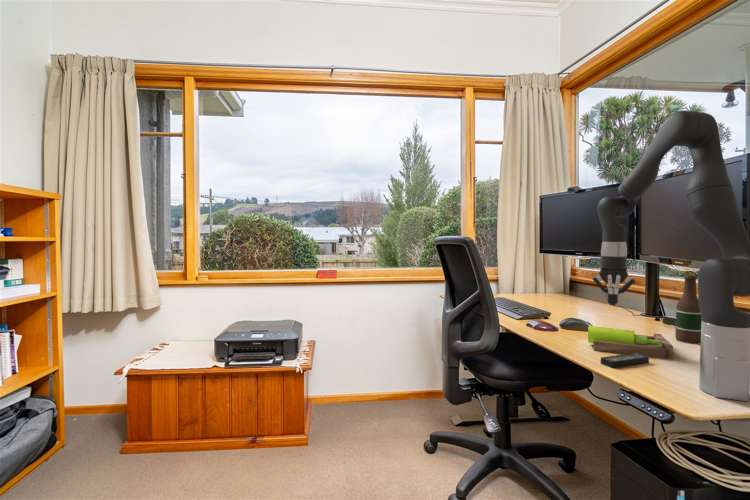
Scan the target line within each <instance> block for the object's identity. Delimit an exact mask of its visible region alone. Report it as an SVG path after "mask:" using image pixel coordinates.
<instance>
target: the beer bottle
mask: <svg viewBox="0 0 750 500" xmlns="http://www.w3.org/2000/svg"><path fill="white" fill-rule="evenodd" d="M683 278H684V285H683V292H682V293H683V294H682V296H681V297H680V298H679V299H678V301H677V304H676V306H675V307H676V308H675V339H676V341H679V342H681V343H686V344H694V345H695V344H701V323H702V315H701V312H700V309H699V302H698V295H697V294H698V293H697V280H698V276H697V275H695V274H686V275H684V276H683Z"/></svg>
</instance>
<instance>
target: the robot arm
mask: <svg viewBox="0 0 750 500" xmlns="http://www.w3.org/2000/svg"><path fill="white" fill-rule="evenodd" d="M659 127H660V128H659V129H658V131H657V132H656V134H655V135H654V137H653V139H652V141H651V142H650V144H649V145H648V147H647V148H646V150H645V152H644V153H643V155H642V156H641V158H640V160H639V161H638V163H637V164H636V165H635V167H634V168H633V169H632V171H630V173H629V174H628V175H627V176H626V177H625V178H624V180H623V181H622V182H621V183H620V185H619V186H618V188H617V192H618V193H619V195H620V196H605V197H602V198H601V199H600V200H599V202H598V204H597V210H596V211H597V216H598V218H599V223H600V226H601V230H602V236H601V237H602V239H601V240H602V243H601V247H600V248H601V249H600V270H599V272H598V274H597V275H595V276H592V280H593V282H594V283H595V284H596V285H597V286H598V287H599V289H600V290H601V292H604V294H607V300H606V301H607V303H608V304H609V305H610V306H616V304H618V302H619V301H618V299H619V295H620V294H624V293H625V292H626V291H627V290H628V289H629V288H630V287H631V286H632V285H633V284H634V283H635V282H636V279H634V278H632V277H631V276H629V272H628V271H627V266H628V263H627V262H628V261H627V259H628V246H627V233H628V232H627V231H628V230H627V226H626V225H625V224H620V223H618V221H617V218H625V217H628V216H630V214H632V213H633V212H634V210H635V208H636V206H637V205H638V203H639V200H640V198H641V196H643V195H644V193H646V192H647V190H648V189H649V188H650V187H651V186H652V185H653V184H654V182H655V181H656V180H657V177H658V175H659V172H660V171H659V170H660V165H661V164H662V163H661V162H662V160H663V159H664V157H665V156H666V155H667V154H668V153H669V152H670V151H671V150H672V149H673V148H674V147H676V146H677V147H686V148H687V149H688V150H689V153H690V156H691V159H692V163H693V165H692V172H691V173H690V175H689V177H688V180H687V183H686V186H685V196H686V201H687V205H688V209H689V211H690V214H691V216H692V218H693V219H694V220H695V222H697V223H698V225H699V226H700V227H701V228H702V229H704V230H705V231H706V232H707V234H709V235H710V236H711V237H712V239H714V240H715V242H716V244H717V245H718V246H719V249H720V252H721V254H722V257H721V258H719V257H718V258H716V257H715V258H709V259H707V260H705V261H703V263H702V264H701V265H700V267H699V269H698V274H697V294H698V295H697V299H698V302H699V309H700V312H701V315H702V323H701V343H700V354H699V377H698V378H699V381H698V384H699V385H698V388H699V390H701V391H702V392H704V393H706V394H708V395H712V396H713V397H715V398H721V399H729V400H734V401H742V402H749V399H750V313H749V312H746V311H744V310H740V309H739V308H737V307H736V306H735V302H734V297H750V238H749V234H748V233H747V231H746V230H747V229H746V227H745V225H744V221H743V219H742V215H741V212H740V209H739V205H738V201H737V198H736V195H735V192H734V188H733V185H732V183H731V180H730V178H729V173H728V171H727V167H726V164H725V163H726V162H725V159H724V155H723V152H722V145H721V144H722V143H721V139H720V138H721V137H720V132H719V128H718V127H719V126H718V122H717V120H716V118H715V117H714V115H712V114H710V113H707V112H702V111H692V110H677V111H675V112H673V113H672V114H670V115H669V116H668V117H667V118H666V120H664V121H663V123H662V125H661V126H659ZM602 280H603V282H604V283H606V286H607V287H605V286H604V285H603V284H602V283H601V281H602ZM624 281H625V283H624V284H623V285H622V286H621V287H620V285H621V284H622V283H623V282H624Z"/></svg>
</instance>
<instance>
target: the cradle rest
mask: <svg viewBox="0 0 750 500" xmlns="http://www.w3.org/2000/svg"><path fill="white" fill-rule="evenodd" d="M639 335H640V336H647V338H648V339H651V340H660V347H657V345H649V344H648V345H637V344H628V343H618V342H608V341H599V340H593V343H592V345H593V346H592V350H593V351H595V352H596V351H597V352H598V351H599V352H606V353H615V354H621V355H623V354H631V353H638V354H641V355H644V356H648V357H649V358H650V357H651V358H659V359H667V360H674V346H673V345H672V344H671V343H670V341H669V340H667V339H666V338H665V336H663V335H662V333H661V334H660V333H653V335H644V334H642V335H641V334H639Z"/></svg>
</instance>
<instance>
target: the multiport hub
mask: <svg viewBox="0 0 750 500" xmlns="http://www.w3.org/2000/svg"><path fill="white" fill-rule="evenodd" d="M649 363H650V357H648V356H644V355H641V354H638V353H631V354H615V355H611V356H608V355H607V356H602V357H600V364H601V365H603V366H605V367H608V368H611V369H618V368H624V367H625V368H626V367H632V366H640V365H646V364H649Z"/></svg>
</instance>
